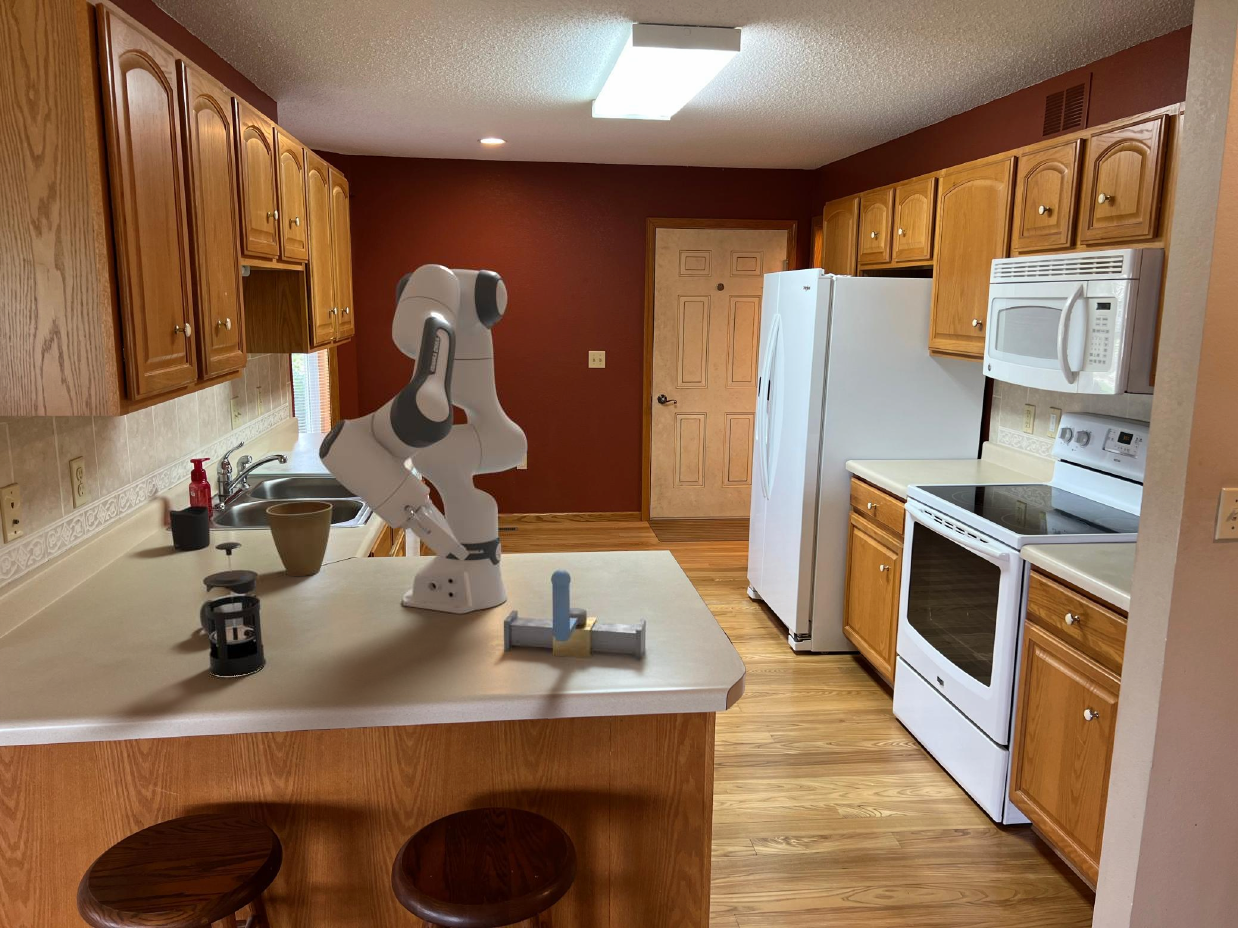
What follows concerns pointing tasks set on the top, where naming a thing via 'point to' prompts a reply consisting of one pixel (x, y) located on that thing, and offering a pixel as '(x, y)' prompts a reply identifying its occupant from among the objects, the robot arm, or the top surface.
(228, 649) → the french press
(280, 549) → the plant pot
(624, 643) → the valve pipe
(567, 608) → the lever
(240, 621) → the ceramic mug
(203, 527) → the pen holder
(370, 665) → the top surface
